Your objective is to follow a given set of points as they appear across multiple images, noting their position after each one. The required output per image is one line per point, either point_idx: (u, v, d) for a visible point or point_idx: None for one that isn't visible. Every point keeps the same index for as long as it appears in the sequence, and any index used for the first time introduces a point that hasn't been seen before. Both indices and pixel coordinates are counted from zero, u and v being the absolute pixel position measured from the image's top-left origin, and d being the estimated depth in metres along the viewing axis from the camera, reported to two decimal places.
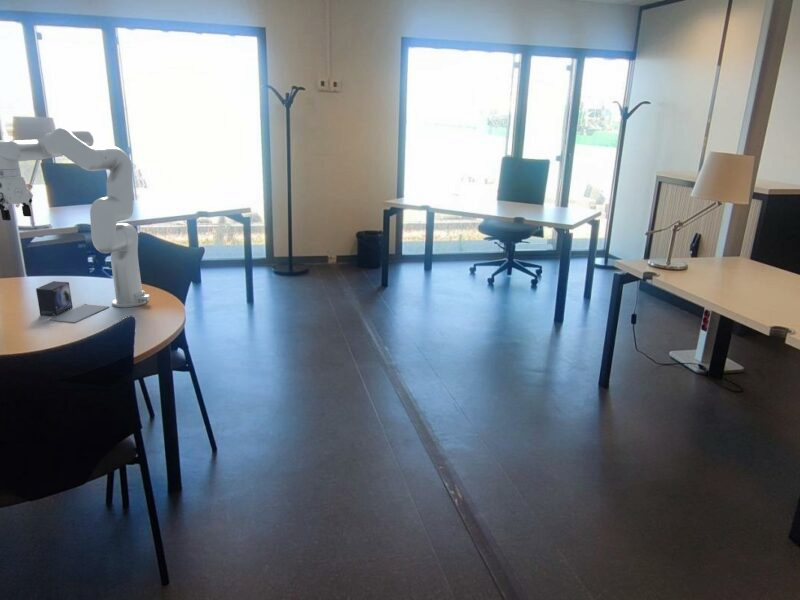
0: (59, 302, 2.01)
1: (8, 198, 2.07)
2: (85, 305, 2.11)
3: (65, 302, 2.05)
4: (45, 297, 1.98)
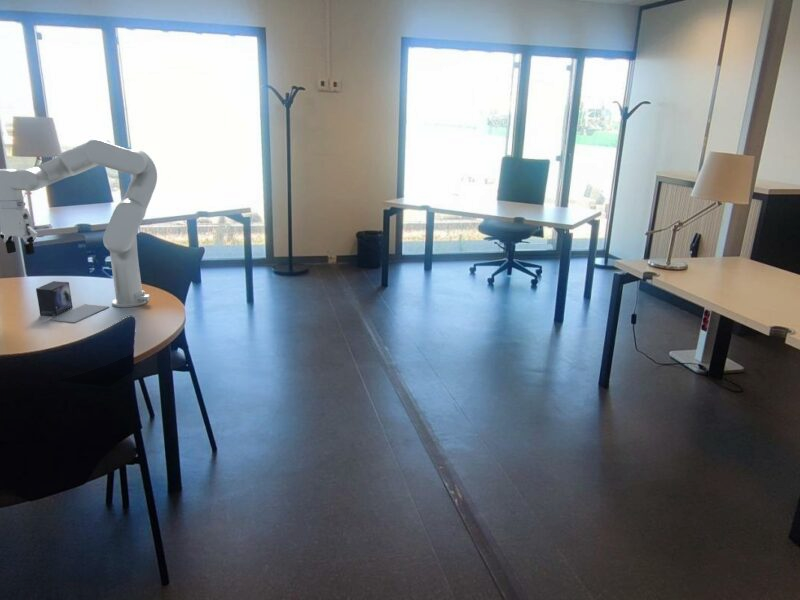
0: (59, 302, 2.01)
1: (33, 228, 1.99)
2: (85, 305, 2.11)
3: (65, 302, 2.05)
4: (45, 297, 1.98)
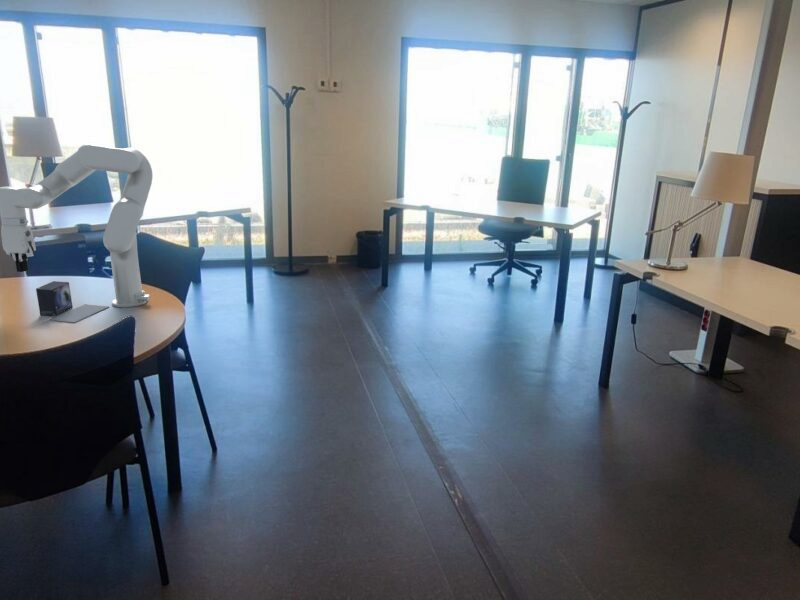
0: (59, 302, 2.01)
1: None
2: (85, 305, 2.11)
3: (65, 302, 2.05)
4: (45, 297, 1.98)
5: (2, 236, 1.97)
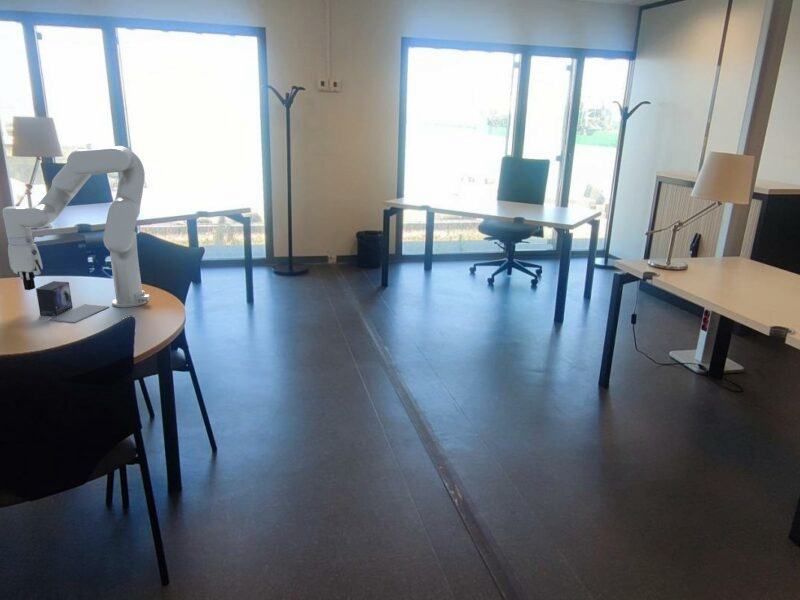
0: (59, 302, 2.01)
1: (41, 263, 2.03)
2: (85, 305, 2.11)
3: (65, 302, 2.05)
4: (45, 297, 1.98)
5: (9, 255, 1.99)
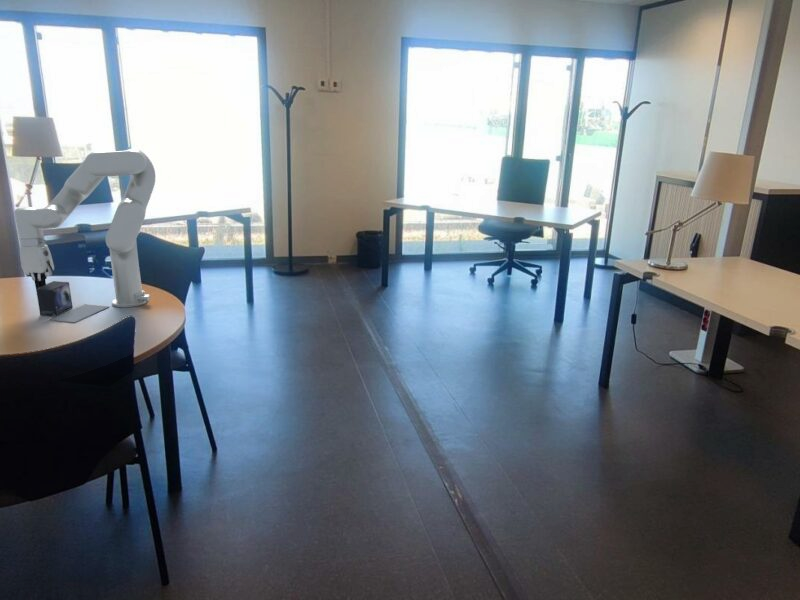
0: (59, 302, 2.01)
1: None
2: (85, 305, 2.11)
3: (65, 302, 2.05)
4: (45, 297, 1.98)
5: (21, 256, 1.98)
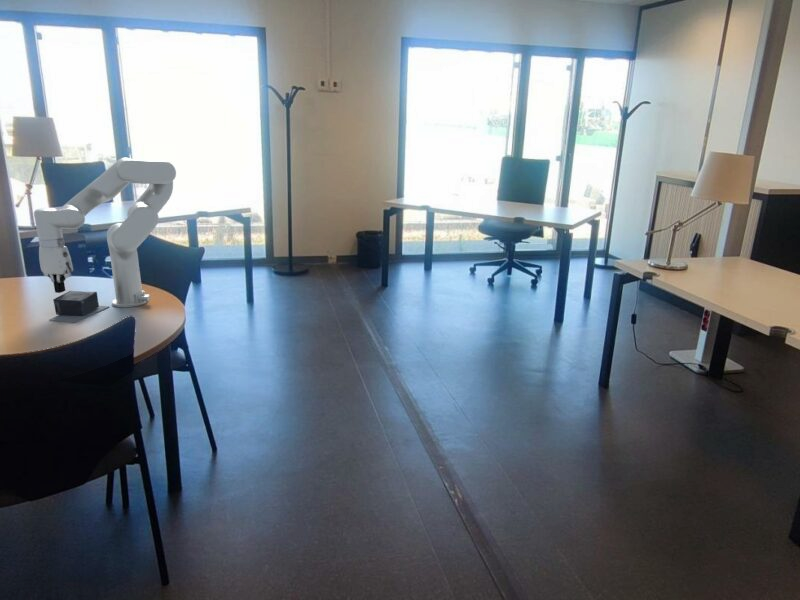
0: None
1: None
2: None
3: None
4: (74, 308, 1.99)
5: (40, 258, 1.97)
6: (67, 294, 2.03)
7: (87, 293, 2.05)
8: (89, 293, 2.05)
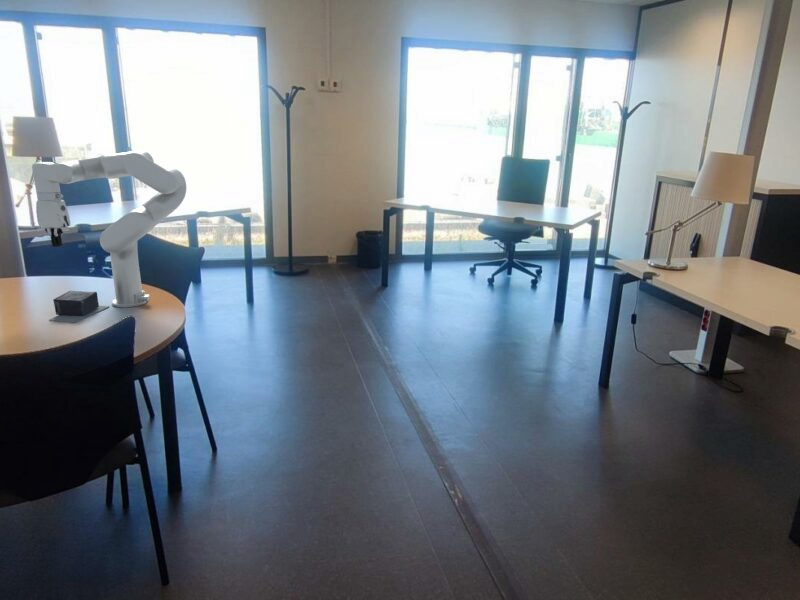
0: None
1: None
2: None
3: None
4: (74, 309, 1.99)
5: (37, 211, 2.00)
6: (67, 294, 2.03)
7: (87, 293, 2.05)
8: (89, 293, 2.05)
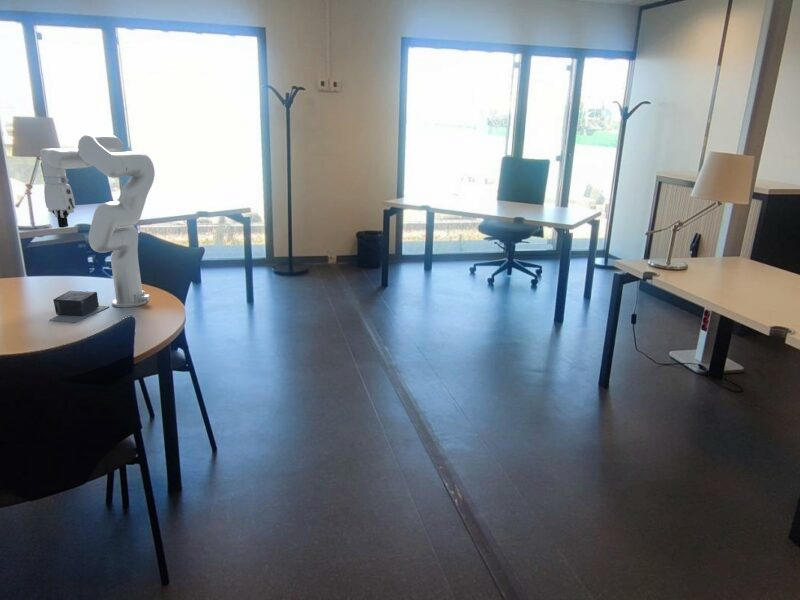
0: None
1: None
2: None
3: None
4: (74, 309, 1.99)
5: (45, 194, 2.16)
6: (67, 294, 2.03)
7: (87, 293, 2.05)
8: (89, 293, 2.05)
